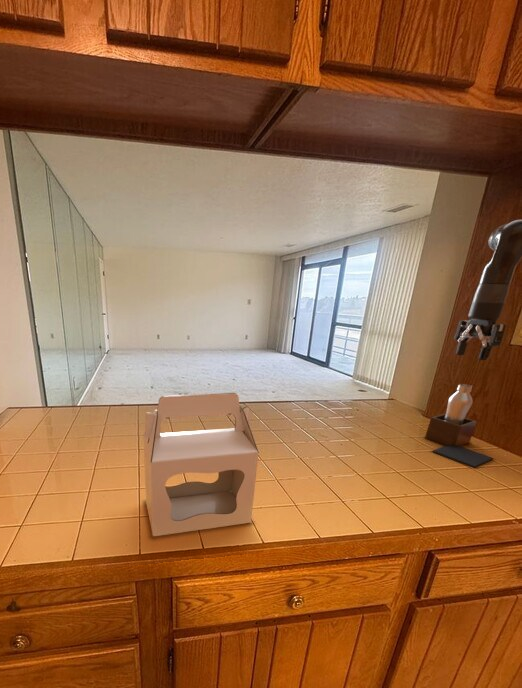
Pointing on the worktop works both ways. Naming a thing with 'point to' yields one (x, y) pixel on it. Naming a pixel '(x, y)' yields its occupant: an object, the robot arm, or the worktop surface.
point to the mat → (463, 455)
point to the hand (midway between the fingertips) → (470, 357)
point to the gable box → (199, 466)
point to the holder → (450, 431)
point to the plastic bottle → (459, 405)
